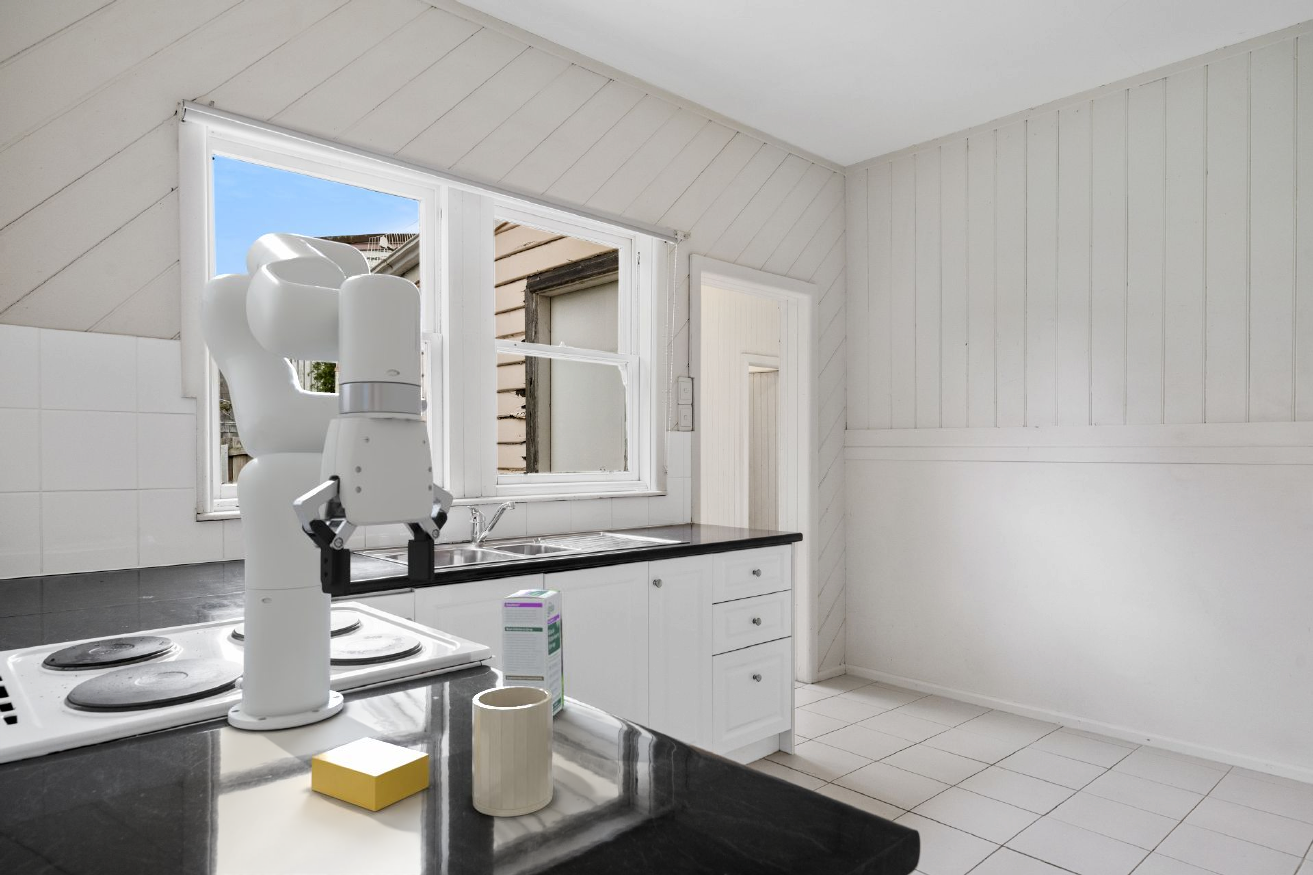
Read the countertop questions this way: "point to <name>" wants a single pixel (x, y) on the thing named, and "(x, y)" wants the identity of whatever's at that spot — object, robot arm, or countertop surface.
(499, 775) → the cup
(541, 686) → the syrup box
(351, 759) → the block
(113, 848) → the countertop surface
